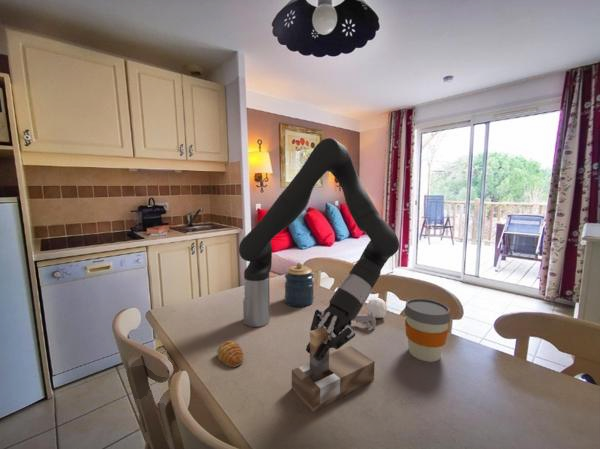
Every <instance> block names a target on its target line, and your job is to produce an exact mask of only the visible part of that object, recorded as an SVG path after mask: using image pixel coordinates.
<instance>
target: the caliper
mask: <svg viewBox="0 0 600 449" xmlns="http://www.w3.org/2000/svg"><path fill="white" fill-rule="evenodd" d="M352 321H353V322H354V321H355V322H356V323H359V324H360V323H363V322H365V324H366V326H367V328H368V329H371V325H372V328H373V330H375V329H376V325H377V324H376V322H377V321H376V318H375V316H374V315H373V314H372V312H371V314H370V313H369V312H368V311H367V314H357V316H356V318H355V319H353V320H352ZM352 321H351V322H352ZM370 321H371V323H372V324H370Z"/></svg>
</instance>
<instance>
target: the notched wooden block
mask: <svg viewBox="0 0 600 449" xmlns="http://www.w3.org/2000/svg"><path fill="white" fill-rule="evenodd" d="M373 380H375V360H373V359H372V358H370V357H369V356H367V355H366V354H365V353H362V352H361V351H360V350H358V349H357V348H355V347H353V346H352V345H348V346H346V347H344V348H342V349H338V350H336V351H334V352H331V353H329V370H327V371H325V372H322V373H320V374H318V375H315V374H314V373H313V372H312V371H310V362H307V363H305V364H303V365H300V366H298V367H296V368H293V369H291V390H292V391H294V393H295V394H296V395H297V396H298V397H299V399H301V401H302V402H303V403H304V404H305V405H306V406H307V407H308V408H309V409H310V411H311V412H312V413H314V412H316V411H318V410H320V409H321V408H324V407H325V406H327V405H329V404H330V403H332V402H335V401H336V400H339V399H340V398H342V397H343V396H346V395H348V394H349V393H351V392H353V391H355V390H356V389H358V388H360V387H362V386H364V385H365V384H367V383H370V382H372V381H373Z"/></svg>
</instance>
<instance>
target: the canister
mask: <svg viewBox="0 0 600 449" xmlns="http://www.w3.org/2000/svg"><path fill="white" fill-rule="evenodd" d="M314 277H315V275H314V274H313V270H312V268H310V267H308V266H307V265H303V264H302V262H297V263H296V265H291V266H290V267H289V268H287V269H286V273H285V274H284V278H285V281H284V301H285V303H286V304H287V305H289V306H291V307H297V308H298V307H300V308H301V307H307V306H310V305H312V304H313V303H314V300H315V299H314V298H315V296H314V284H315V282H314Z"/></svg>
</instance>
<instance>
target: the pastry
mask: <svg viewBox="0 0 600 449" xmlns="http://www.w3.org/2000/svg"><path fill="white" fill-rule="evenodd" d="M216 354H217V358H218V360H219V361H220V362H221V363H222V364H225V365H226V366H228V367H231V368H236V367H238V366H240V365H242V364H243V362H244V361H245V358H244V353H243V349H242V348H241V347H240V345H239V344H238V343H237V342H233V341H231V340H228V341H225V342H223V343H222V344H220V345H219V347H218V348H217V351H216Z"/></svg>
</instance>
